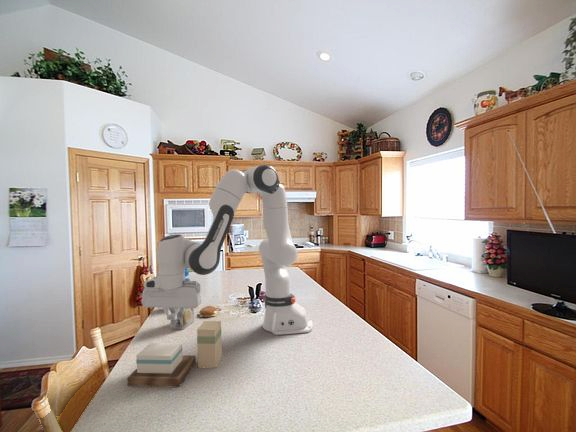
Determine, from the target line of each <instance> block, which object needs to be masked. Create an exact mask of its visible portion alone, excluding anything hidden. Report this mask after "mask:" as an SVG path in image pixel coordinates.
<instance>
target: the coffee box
mask: <svg viewBox="0 0 576 432" xmlns="http://www.w3.org/2000/svg"><path fill="white" fill-rule="evenodd" d="M169 310H170V312H171V313H175V311H174V308H170V309H169ZM194 311H195V308H180V310H179V312H178V314H177V319H176V320H170V328H171V329H172V330H173V329H174V330H175V329H176V330H185V329H186V328H187V327H188V326H190V325H191V324H192V323H193V322H195V312H194Z"/></svg>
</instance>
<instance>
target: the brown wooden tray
mask: <svg viewBox="0 0 576 432" xmlns="http://www.w3.org/2000/svg"><path fill="white" fill-rule="evenodd" d="M182 358H183V359H182V361H181V362H180V363H179V364H178V366H177V367H176V368H175V370H174V371H173V372H172V373H137V368H136V369H134V370H133V371H132V372H131V373H130V374H129V375H128V376H127V386H128V387H131V386H132V387H165V386H179V387H181V385H182V384H183V382H184V381H185V379H186V377H187V376H188V375H187V374H189V373H190V372H191V370H192V369H193V367H194V366H195V364H196V360H197V359H196V355H189V354H188V355H186V354H185V355H184V354H182ZM180 384H181V385H180Z"/></svg>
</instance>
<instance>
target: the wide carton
mask: <svg viewBox="0 0 576 432" xmlns="http://www.w3.org/2000/svg"><path fill="white" fill-rule="evenodd" d="M182 355H183V342H182V343H181V342H179V343H178V342H167V343H166V342H150V343H149V344H147V345H146V346H145V347H144V348H143V349H142V350H141V351H139V352H138V353H137V354H136V357H135V358H136V360H135V361H136V362H135V363H136V369H137V373H172V372H173V371H174V370H175V368H176V367H177V366H178V364H179V363H180V362H181V361H182V359H183V358H182Z"/></svg>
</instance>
